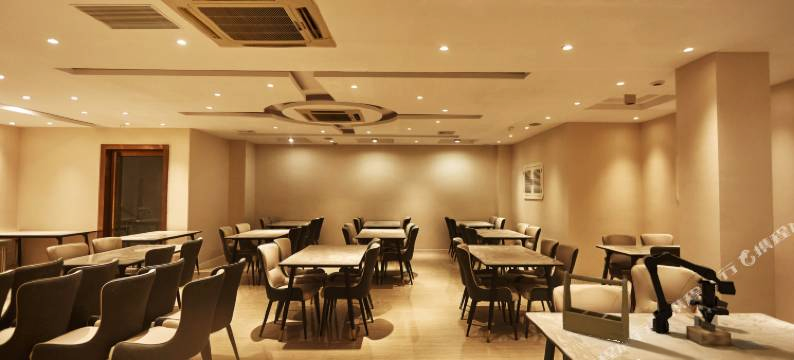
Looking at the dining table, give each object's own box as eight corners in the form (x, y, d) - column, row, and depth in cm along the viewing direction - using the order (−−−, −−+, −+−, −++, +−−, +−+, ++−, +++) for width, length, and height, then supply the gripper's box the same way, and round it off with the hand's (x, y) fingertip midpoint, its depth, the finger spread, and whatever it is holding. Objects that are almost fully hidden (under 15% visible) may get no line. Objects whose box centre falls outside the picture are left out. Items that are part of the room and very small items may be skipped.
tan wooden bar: (704, 324, 200) (704, 320, 200) (686, 316, 213) (686, 312, 213) (709, 324, 200) (709, 320, 200) (690, 316, 213) (690, 312, 213)
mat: (740, 349, 185) (740, 348, 185) (723, 341, 195) (723, 340, 195) (769, 349, 185) (769, 348, 185) (750, 341, 195) (750, 340, 195)
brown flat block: (701, 345, 189) (701, 335, 189) (686, 338, 199) (686, 327, 199) (731, 346, 189) (731, 335, 189) (714, 338, 198) (714, 328, 199)
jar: (713, 329, 212) (712, 306, 212) (695, 325, 218) (694, 303, 219) (719, 326, 216) (719, 304, 217) (702, 322, 223) (701, 300, 224)
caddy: (562, 329, 210) (561, 272, 211) (569, 324, 218) (569, 269, 219) (624, 344, 190) (623, 280, 191) (629, 338, 198) (629, 277, 199)
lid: (701, 337, 189) (701, 326, 189) (686, 329, 199) (686, 319, 199) (731, 337, 189) (731, 326, 189) (714, 330, 199) (714, 320, 199)
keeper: (698, 335, 203) (698, 317, 203) (694, 333, 206) (694, 315, 206) (708, 335, 202) (708, 317, 203) (703, 333, 206) (703, 315, 206)
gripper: (740, 298, 190) (741, 331, 190) (710, 288, 209) (710, 318, 208) (716, 297, 190) (717, 330, 190) (688, 288, 209) (689, 318, 208)
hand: (708, 324), depth 199 cm, fingers closed
